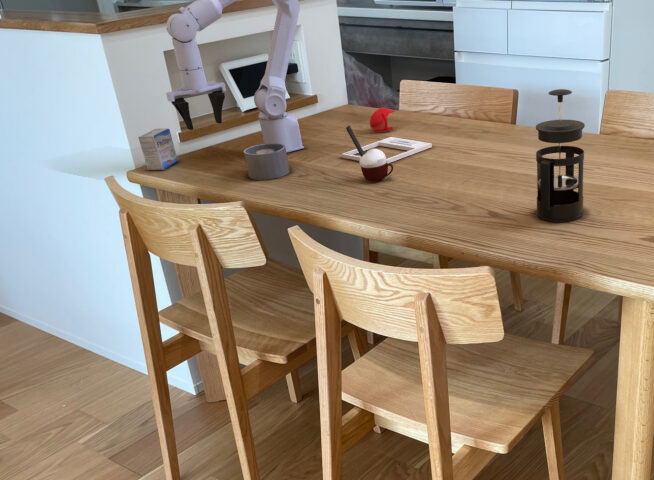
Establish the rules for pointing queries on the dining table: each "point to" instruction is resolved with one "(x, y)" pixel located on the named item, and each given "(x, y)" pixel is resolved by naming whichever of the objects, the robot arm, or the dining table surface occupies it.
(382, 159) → the cocoa
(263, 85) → the robot arm
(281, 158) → the bucket
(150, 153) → the medicine box
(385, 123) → the cap
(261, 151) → the coffee pod
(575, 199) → the french press
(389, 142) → the photo frame
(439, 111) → the dining table surface
